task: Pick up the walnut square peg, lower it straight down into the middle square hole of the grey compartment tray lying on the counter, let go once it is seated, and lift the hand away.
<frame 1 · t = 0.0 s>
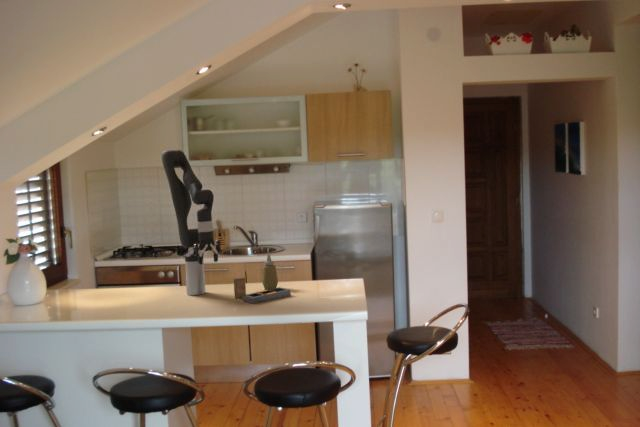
hand: (208, 263, 347), 17 cm above the table, tool pointing down, fingers open, 8 cm apart
walnut peg: (240, 298, 343), on the table
grey compartment tray: (267, 298, 340), on the table
squeeze bottle: (270, 289, 361), on the table
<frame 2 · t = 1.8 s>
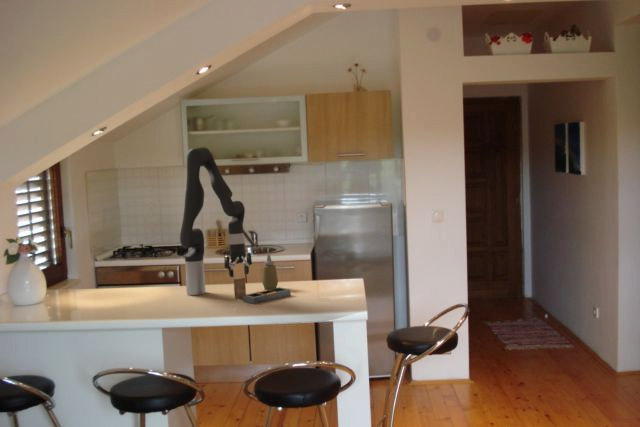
hand: (239, 275, 342), 11 cm above the table, tool pointing down, fingers open, 8 cm apart
nothing on the table moved.
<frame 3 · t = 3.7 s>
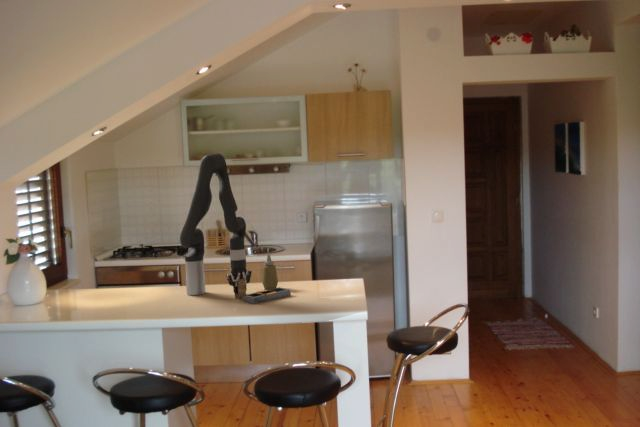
hand: (240, 292, 343), 3 cm above the table, tool pointing down, fingers closed on walnut peg, 4 cm apart
walnut peg: (240, 298, 343), on the table, touching gripper
everything else where it was.
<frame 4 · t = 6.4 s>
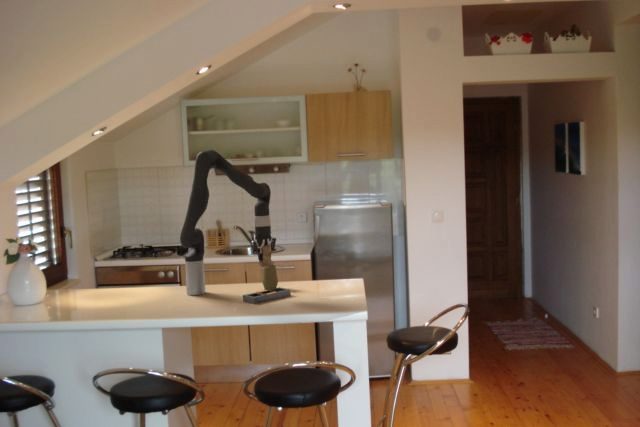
hand: (264, 260, 338), 19 cm above the table, tool pointing down, fingers closed on walnut peg, 4 cm apart
walnut peg: (265, 265, 338), point 16 cm above the table, touching gripper
everything else where it was.
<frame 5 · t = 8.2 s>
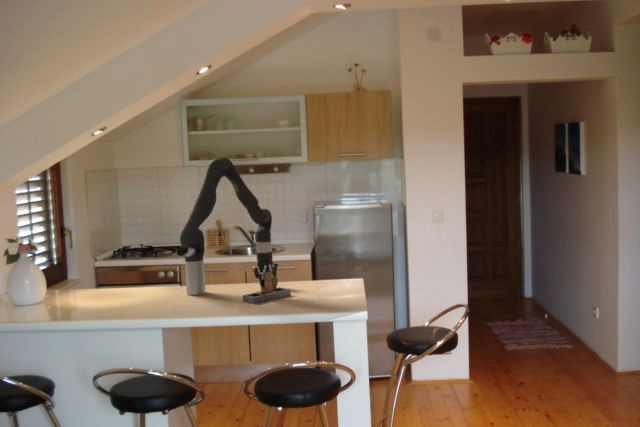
hand: (266, 285, 339), 6 cm above the table, tool pointing down, fingers closed on walnut peg, 4 cm apart
walnut peg: (266, 291, 339), point 4 cm above the table, touching gripper
everything else where it was.
when the fingers open (4 cm above the table, at t = 9.4 s): walnut peg drops 1 cm, resting in grey compartment tray.
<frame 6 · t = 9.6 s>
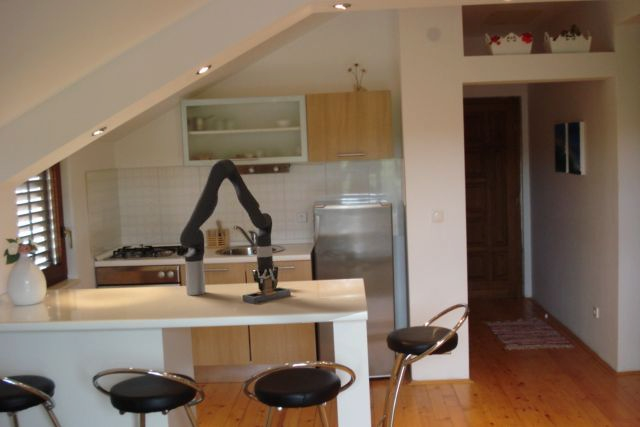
hand: (266, 289, 340), 5 cm above the table, tool pointing down, fingers open, 6 cm apart
walnut peg: (267, 298, 340), resting in grey compartment tray
everything else where it was.
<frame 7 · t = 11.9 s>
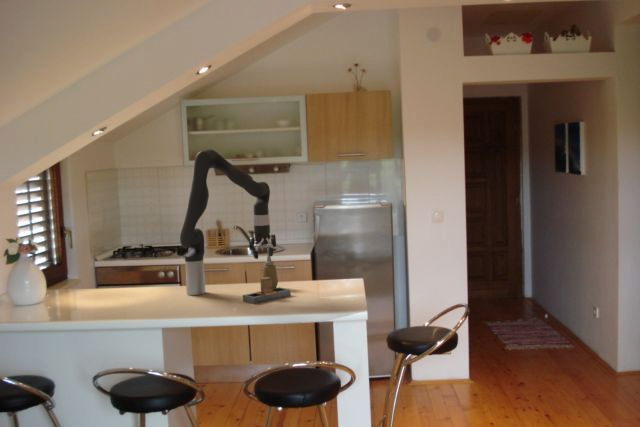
hand: (263, 257, 338), 20 cm above the table, tool pointing down, fingers open, 8 cm apart
nothing on the table moved.
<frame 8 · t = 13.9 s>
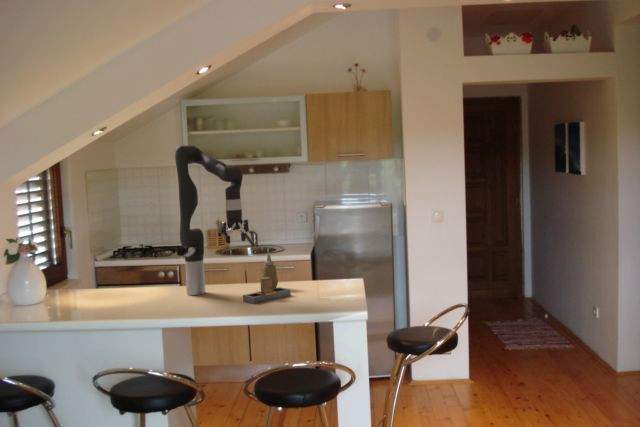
hand: (235, 242, 337), 28 cm above the table, tool pointing down, fingers open, 8 cm apart
nothing on the table moved.
at the end: walnut peg 0.0 cm off-centre on the grey compartment tray, point 0.0 cm above the grey compartment tray's base; walnut peg tilted 0°; the gripper is holding nothing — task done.
